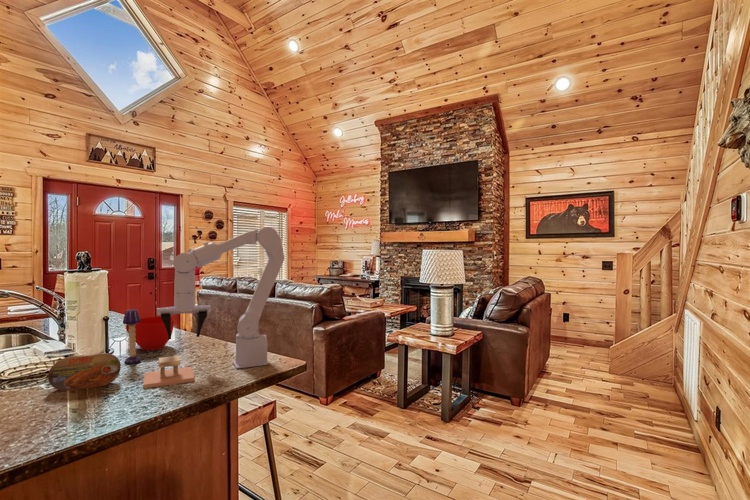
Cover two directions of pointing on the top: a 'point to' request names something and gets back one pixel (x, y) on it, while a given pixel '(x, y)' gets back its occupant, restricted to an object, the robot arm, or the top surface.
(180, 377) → the mat
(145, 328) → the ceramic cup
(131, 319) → the toy lamp
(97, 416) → the top surface
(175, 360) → the toy stool
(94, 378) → the tin
